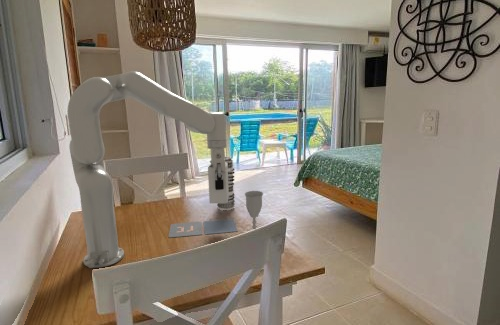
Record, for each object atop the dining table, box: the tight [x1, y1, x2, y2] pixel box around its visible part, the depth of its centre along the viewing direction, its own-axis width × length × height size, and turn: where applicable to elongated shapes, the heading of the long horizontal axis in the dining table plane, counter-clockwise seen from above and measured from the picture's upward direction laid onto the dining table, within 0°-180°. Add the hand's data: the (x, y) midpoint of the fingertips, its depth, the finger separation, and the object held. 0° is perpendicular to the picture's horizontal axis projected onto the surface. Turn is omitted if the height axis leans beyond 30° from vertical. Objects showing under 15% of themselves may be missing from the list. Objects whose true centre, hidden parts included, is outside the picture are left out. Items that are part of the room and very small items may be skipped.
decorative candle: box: [216, 156, 236, 211], centre depth 150 cm, size 9×9×25 cm
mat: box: [203, 218, 238, 235], centre depth 130 cm, size 13×13×1 cm
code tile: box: [168, 221, 203, 239], centre depth 128 cm, size 13×13×1 cm
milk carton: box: [207, 155, 229, 204], centre depth 126 cm, size 7×7×19 cm
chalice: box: [244, 190, 264, 230], centre depth 117 cm, size 7×7×18 cm
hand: (218, 186), depth 127 cm, fingers closed on milk carton, 8 cm apart
